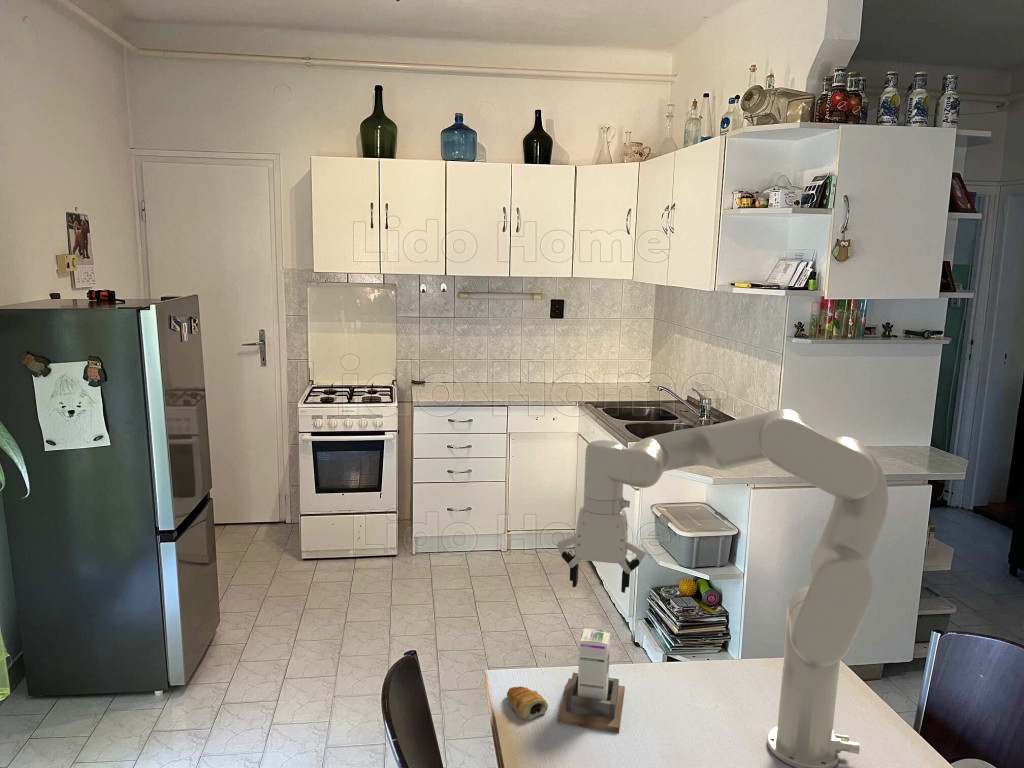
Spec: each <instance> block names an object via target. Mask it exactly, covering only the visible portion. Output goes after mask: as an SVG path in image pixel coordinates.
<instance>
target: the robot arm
mask: <svg viewBox="0 0 1024 768" xmlns="http://www.w3.org/2000/svg"><path fill="white" fill-rule="evenodd" d="M584 459H585V460H584V480H583V481H584V485H583V505H582V506H580V509H579V512H578V515H577V523H576V529H575V535H572V536H570V537H567V538H565V539H562V540H559V541H558V542H557V544H556V547H557V549H558V551H559V553H560V555H561V558H562V560H564V561H565V563H567V564H568V567H569V581H570V582H572V586H571V587H572V588H576V587H577V585H578V582H579V563H580V562H581V560H583V561H588V562H589V561H590V562H596V563H606V564H607V563H608V564H618V565H619V566H620V567H621V569H622V573H621V589H620V590H621V591H620V592H621V593H622V594H625V593H626V588H630V583H631V582H630V578H631V576H630V575H631V572H632V571H634V570H635V569H636V568H637V567H639V566H640V564H641V563H642V560H644V558H645V556H646V550H645V549H643V547H640V546H638V544H635V543H633V542H632V541H630V540H629V539H628V538H629V536H628V535H629V533H628V531H629V530H628V517H627V512H626V508H630V507H631V506H630V504H631V501H630V500H627V499H625V497H624V495H623V491H624V485H627V486H630V487H634V488H637V489H638V488H639V489H646V488H647V489H648V488H651V487H652V486H654V485H655V484H657V483H658V482H659V480H661V479H660V478H661V477H662V475H663V473H664V472H668V471H673V470H676V469H682V468H687V467H694V466H697V467H698V466H701V467H702V466H703V467H709V468H711V469H714V470H723V471H725V470H731V469H735V468H741V467H743V466H749V465H753V464H758V463H761V462H762V463H764V462H766V461H769V462H770V463H772V464H773V465H775V466H776V467H778V468H780V469H781V470H784V471H785V472H787V473H788V474H790V475H792V476H794V477H796V478H797V479H800V480H802V481H804V482H806V483H807V484H810V485H811V486H813V487H816V488H817V489H819V490H821V491H823V492H825V493H826V494H829V495H832V496H834V501H833V506H832V508H831V511H830V513H829V516H828V519H827V522H826V524H825V527H824V529H823V531H822V533H821V536H820V538H819V540H818V542H817V545H816V546H815V548H814V550H813V553H812V555H811V559H810V573H811V582H810V584H809V585H808V586H806V585H805V586H804V587H802V588H799V589H798V590H797V591H795V592H794V593H793V594H792V595H791V598H790V599H789V602H788V604H787V609H786V617H785V618H786V619H785V620H786V621H785V622H786V623H785V641H784V652H783V662H782V663H783V665H782V675H781V682H780V683H781V686H780V695H779V705H778V716H777V717H778V718H777V725H776V726H775V727H774V728H772V729H771V730H770V731H769V733H768V734H767V740H766V741H767V746H768V748H769V750H770V752H771V753H772V754H773V755H774V756H775V757H776V758H778V759H779V760H780V761H782V762H784V763H785V764H787V765H789V766H792V767H794V768H834V767H836V766H837V765H838V763H839V760H840V753H842V752H847V753H852V754H858V755H859V754H860V743H859V742H856V741H850V735H849V734H843V733H836V732H835V731H834V730H833V729H834V720H835V710H836V701H837V691H838V684H839V683H838V682H839V676H840V664H841V660H842V659H843V658H844V657H845V656H846V655H847V653H848V651H849V650H850V649H851V647H852V644H853V641H854V640H855V637H856V636H857V633H858V632H859V629H860V627H861V625H862V622H863V621H864V618H865V616H866V613H867V611H868V608H869V606H870V604H871V601H872V597H873V594H874V587H875V586H874V585H875V583H874V582H875V581H874V576H873V572H872V570H871V565H870V563H871V559H872V558H871V557H872V555H873V553H874V551H875V550H874V549H875V547H876V545H877V543H878V540H879V536H880V534H881V531H882V528H883V526H884V523H885V520H886V517H887V514H888V507H889V489H888V484H887V483H888V482H887V479H886V476H885V473H884V471H883V468H882V466H881V464H880V462H879V460H878V459H877V457H876V456H875V455H874V454H873V453H872V451H871V450H870V449H869V448H868V447H867V446H866V445H865V444H864V443H862V442H861V441H860V440H858V439H855V438H853V437H850V436H837V437H834V438H830V437H829V436H827V435H824V434H823V433H821V432H819V431H818V430H815V429H814V428H812V427H810V426H809V425H808V423H807V422H806V420H805V418H804V417H803V416H802V415H801V414H800V413H798V412H797V411H795V410H792V409H790V408H789V409H788V408H787V409H786V408H784V409H783V408H781V409H775V410H770V411H766V412H761V413H757V414H753V415H750V416H746V417H741V418H737V419H734V420H733V419H732V420H729V421H724V422H719V423H716V424H714V423H713V424H710V425H702V426H697V427H690V428H683V429H677V430H673V431H669V432H666V433H661V434H655V435H652V436H649V437H645V438H643V439H640V440H638V441H637V442H635V444H634V445H632V447H630V448H625V447H624V446H623V444H621V443H620V442H617V441H613V440H608V439H606V440H605V439H603V440H602V439H601V440H600V439H599V440H594V441H591V442H589V443H588V444H587V445H586V448H585V458H584ZM624 509H625V510H624ZM572 545H574V554H573V555H572V554H571V553H570V552H569V550H567V547H569V546H572ZM628 551H630V552H632V553H633V554H634V555H635V557H634V558H633V559H631V560H629V559H628V558H627V554H628Z"/></svg>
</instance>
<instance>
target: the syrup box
mask: <svg viewBox="0 0 1024 768" xmlns="http://www.w3.org/2000/svg"><path fill="white" fill-rule="evenodd" d="M578 643H579V644H578V645H579V646H578V670H577V671H578V672H577V673H578V696H579V697H586V698H593V699H599V700H606V701H607V698H608V679H609V678H610V673H609V672H610V652H611V651H610V649H611V648H610V644H611V632H610V630H609V631H608V630H605V629H598V628H583V629H582V631H581V634H580V637H579V642H578Z"/></svg>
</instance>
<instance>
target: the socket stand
mask: <svg viewBox="0 0 1024 768" xmlns="http://www.w3.org/2000/svg"><path fill="white" fill-rule="evenodd" d="M619 682H620V678H616V677H615V678H613V677H609V679H608V698H607V701H606V700H599V699H593V698H586V697H579V696H578V672H572V676H571V677H570V678H568V679H567V683H566V687H565V691H564V694H563V698H562V702H561V705H560V709H559V712H558V717H557V724H561V725H562V724H563V725H569V726H576V727H580V728H589V729H595V730H600V731H601V730H602V731H607V732H614V733H620V728H621V720H622V712H623V706H624V697H625V689H626V686H625V685H619V684H620V683H619Z"/></svg>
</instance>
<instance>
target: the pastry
mask: <svg viewBox="0 0 1024 768" xmlns="http://www.w3.org/2000/svg"><path fill="white" fill-rule="evenodd" d="M506 696H507V699H508V700H507V701H508V702H509V705H510V709H511V710H513V711H514V712H515V714H516V715H517V716H518V717H519V718H520V719H522V720H524V721H527V720H532V719H534V718H536V717H538V716H540V715H544V714H545V713H546V712H547V711H548V708H549V705H548V702H547V701H546V700H545V698H544V697H543V696H542V695H541V694H540V693H538V691H536V690H532V689H529V688H528V687H524V686H521V685H520V686H513V687H510V688H508V690H507V693H506Z"/></svg>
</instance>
